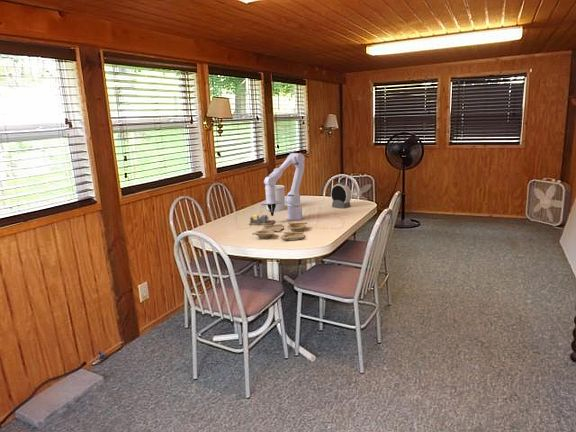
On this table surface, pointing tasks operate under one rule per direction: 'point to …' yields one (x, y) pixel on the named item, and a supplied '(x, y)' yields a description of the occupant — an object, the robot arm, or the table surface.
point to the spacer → (255, 217)
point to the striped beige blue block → (265, 219)
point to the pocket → (254, 221)
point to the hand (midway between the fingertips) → (272, 215)
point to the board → (263, 223)
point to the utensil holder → (278, 197)
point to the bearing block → (263, 218)
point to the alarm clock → (341, 195)
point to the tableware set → (270, 229)
